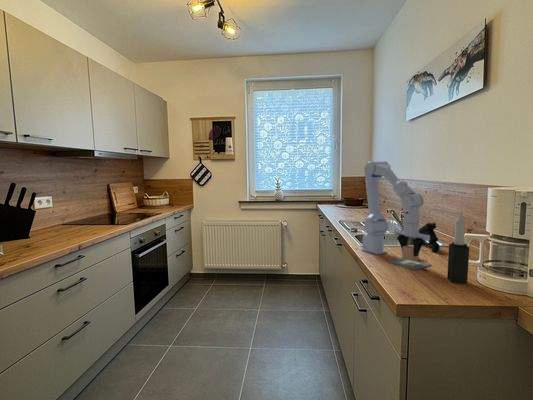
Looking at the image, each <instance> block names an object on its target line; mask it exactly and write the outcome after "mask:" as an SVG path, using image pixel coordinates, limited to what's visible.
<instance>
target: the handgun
mask: <svg viewBox="0 0 533 400" xmlns="http://www.w3.org/2000/svg"><path fill="white" fill-rule="evenodd" d="M436 228H437V223H436V222H431V223H430V222H427V223H426V224H425V225H423V226H422V227H419V233H421V234H424V235H429V236H430V240H429V241H427V242H428V245H429V246H430V249H431V252H433V253H439V250H440V244H439V243H438V241H439V238H438V237H437V234H436V232H435V231H434V230H435V229H436ZM414 239H416V238H412V239H411V240H412V241H413V240H414Z"/></svg>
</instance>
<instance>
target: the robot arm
mask: <svg viewBox="0 0 533 400" xmlns="http://www.w3.org/2000/svg"><path fill="white" fill-rule="evenodd" d="M391 168H392V167H391V165H390V164H389V163H388V161H373V160H369V161H368V162H366V163H365V166H364V169H363V170H364V176H365V177H364V178H365V188H366V198H367V199H366V200H367V205H368V208H367V209H368V215H367V216H366V217H365V218H364V221H365V222H364V230H365V232H364V234H363V235H362V248H361V251H364V252H367V253H370V254H374V255H380V254H381V255H383V254H384V253H385V254H386V253H388V250H384V246H385V234H386V232H387V231H388V230H389V224H388V222H387V219H386V217H385V215H384V214H382V211H381V202H380V201H381V200H380V193H379V185H378V182H379V180H380V179H382V178H383V177H384V178H385V180H386V181H388V183H390V184H391V186H393V187H392V190H393V192H394V193H395V194H396V195H397V196H398V197H399V199H400V203H401V205H402V208H403V230H399V229H394V230H393V235H395V236H397V237H396V240H397V241H398V243H399V245H400V247H401V249H400V250H402V249H403V246H406V245H409V244H408V243H409V239H410V238H416V239H414V240H413V239H412V244H413V245H412V246H414V256H418V254H419V255H420V251H421V249H422V247H423V245H424V243H425V242H428V241H429V240H430V236H429V235H424V234H421V233H419V229H420V214H421V213H420V212H421V210H420V209H421V206H423V204H424V198H423V196H422V194H421V193H417V192H415V191H414V190H413V189H412V188H411V187H410V186H409V185H408V182H407V181H403V180H400V179H399V178H398V176H397V175H396V174H395V172H394V171H393V170H392V169H391Z"/></svg>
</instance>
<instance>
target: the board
mask: <svg viewBox="0 0 533 400" xmlns="http://www.w3.org/2000/svg"><path fill="white" fill-rule="evenodd" d="M388 263H389V264H392V265H395V266H396V265H397V266H399V267H403V268H406V269H411V270H413V271H418V270H422V269H425V268H429V267H431V266H432V264H431V263H426V262H422V261H419V260H417V259H416V260H408V259H405V258H402V257H401V258H398V259H394V260H391V261H388Z"/></svg>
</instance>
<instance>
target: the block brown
mask: <svg viewBox="0 0 533 400" xmlns="http://www.w3.org/2000/svg"><path fill="white" fill-rule="evenodd" d="M401 252H402V253H401V258H405V259H408V260H416V261H417V260H419V259H420V258H419V257H420V256H419V255H420V253H419V254H418V256H414V245H411V244H407V245H406V246H403V249H401Z"/></svg>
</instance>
